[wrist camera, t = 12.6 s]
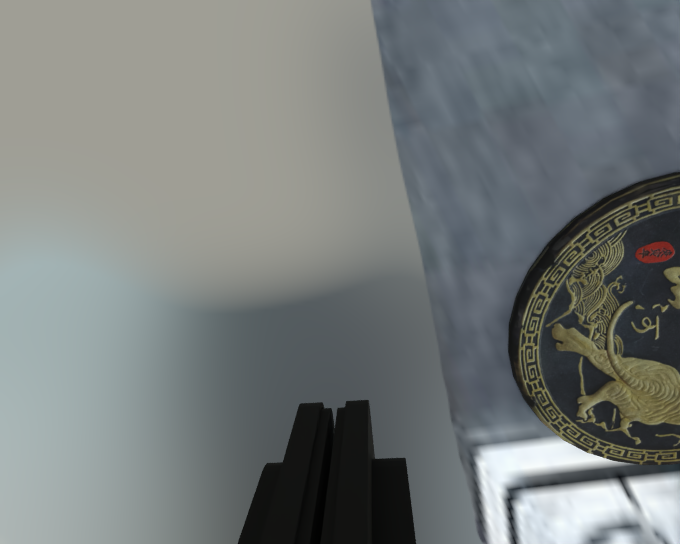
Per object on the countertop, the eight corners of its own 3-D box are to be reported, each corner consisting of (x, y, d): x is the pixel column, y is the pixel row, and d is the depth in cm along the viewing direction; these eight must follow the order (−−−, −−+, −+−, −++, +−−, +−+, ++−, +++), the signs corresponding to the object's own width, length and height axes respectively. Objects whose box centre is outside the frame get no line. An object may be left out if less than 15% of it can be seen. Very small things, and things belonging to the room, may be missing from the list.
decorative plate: (537, 168, 33) (926, 172, 31) (528, 167, 35) (896, 171, 33) (495, 459, 42) (798, 477, 40) (490, 446, 44) (779, 463, 42)
